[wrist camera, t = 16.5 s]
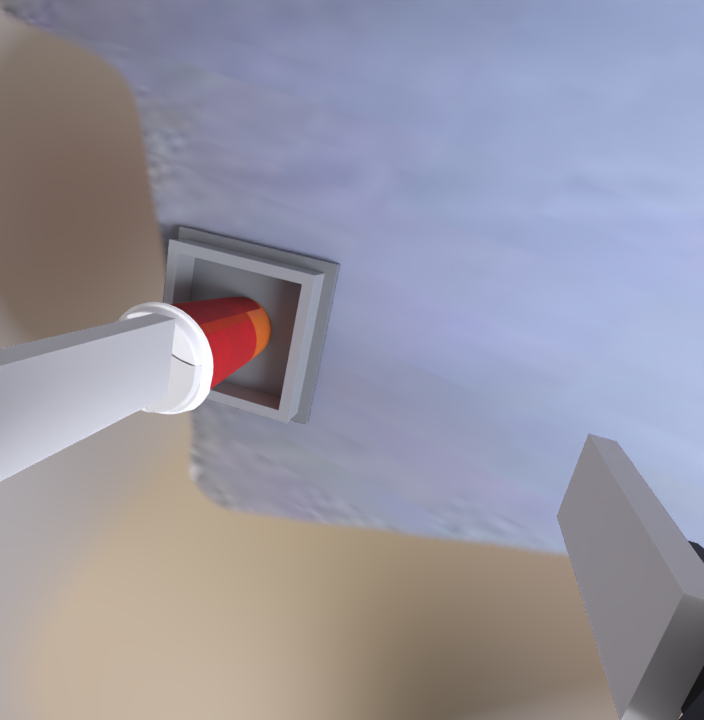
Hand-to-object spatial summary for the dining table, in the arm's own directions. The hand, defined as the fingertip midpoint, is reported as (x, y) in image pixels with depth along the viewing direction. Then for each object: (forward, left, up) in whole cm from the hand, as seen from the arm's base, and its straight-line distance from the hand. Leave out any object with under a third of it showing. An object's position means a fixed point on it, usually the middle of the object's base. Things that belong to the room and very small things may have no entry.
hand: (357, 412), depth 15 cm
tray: (+7, -17, -31) cm, 36 cm away
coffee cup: (+7, -17, -30) cm, 35 cm away
